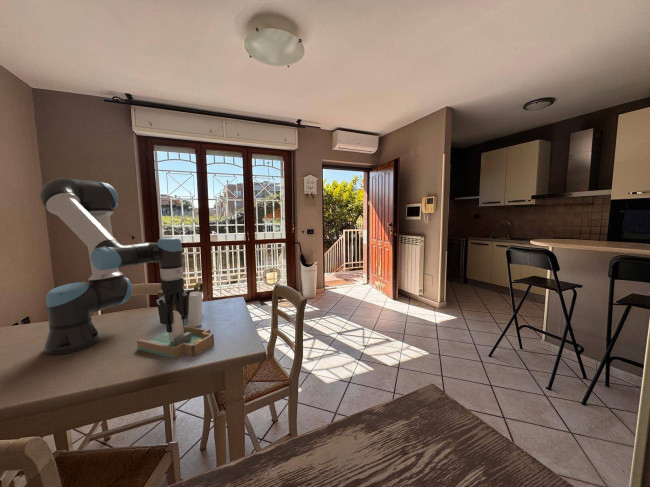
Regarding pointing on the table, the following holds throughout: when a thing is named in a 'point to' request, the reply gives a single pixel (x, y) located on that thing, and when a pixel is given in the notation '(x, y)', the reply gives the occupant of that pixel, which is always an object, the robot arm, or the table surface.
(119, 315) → the table surface
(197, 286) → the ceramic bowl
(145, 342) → the pitch
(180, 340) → the striker
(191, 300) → the drinking glass
